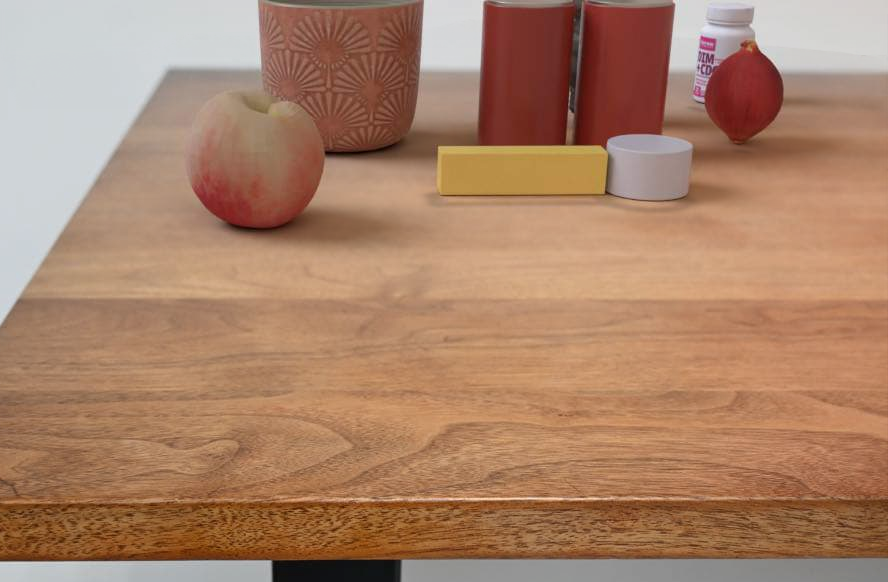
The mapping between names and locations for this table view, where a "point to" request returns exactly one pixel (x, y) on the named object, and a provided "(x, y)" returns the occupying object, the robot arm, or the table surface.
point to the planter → (345, 66)
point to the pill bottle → (720, 39)
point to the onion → (744, 93)
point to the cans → (549, 71)
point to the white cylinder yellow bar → (570, 169)
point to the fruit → (254, 158)
